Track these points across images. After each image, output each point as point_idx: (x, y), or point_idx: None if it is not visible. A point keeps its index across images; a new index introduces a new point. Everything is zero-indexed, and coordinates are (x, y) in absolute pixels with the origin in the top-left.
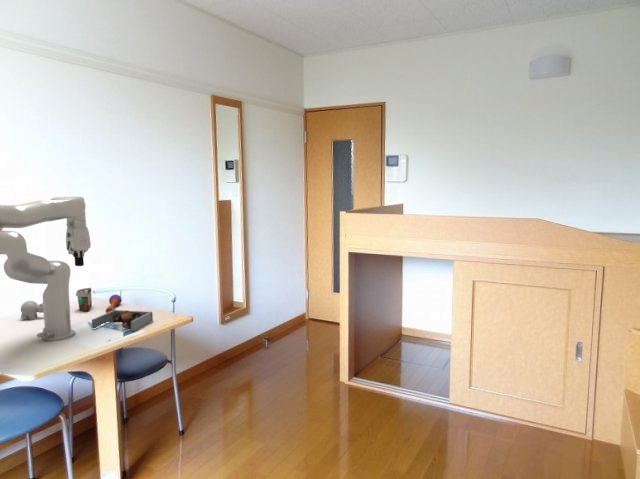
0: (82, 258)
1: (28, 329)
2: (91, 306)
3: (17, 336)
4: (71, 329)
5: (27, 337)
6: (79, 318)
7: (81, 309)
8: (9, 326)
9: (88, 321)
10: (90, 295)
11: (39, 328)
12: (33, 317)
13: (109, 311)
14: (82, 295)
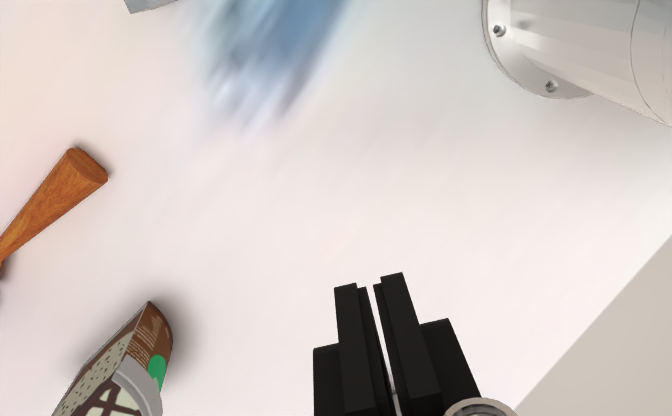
0: (371, 376)
1: (531, 265)
2: (83, 367)
3: (642, 201)
4: (491, 2)
5: (643, 140)
6: (265, 225)
7: (169, 341)
8: (524, 377)
9: (277, 123)
10: (60, 413)
11: (497, 235)
12: None
13: (87, 164)
14: (146, 383)
